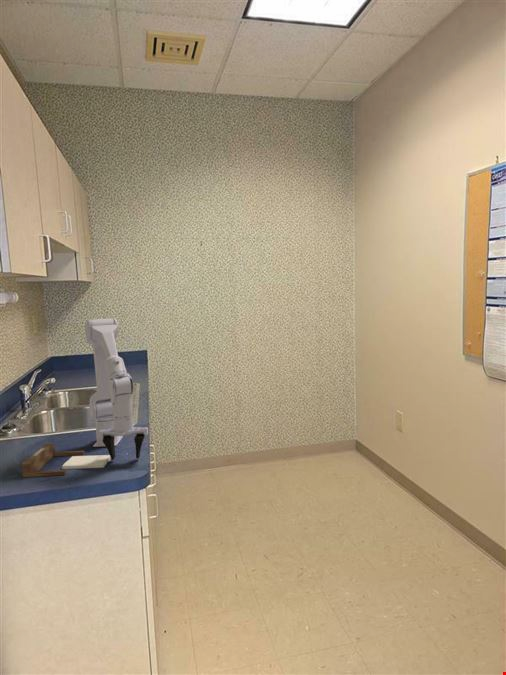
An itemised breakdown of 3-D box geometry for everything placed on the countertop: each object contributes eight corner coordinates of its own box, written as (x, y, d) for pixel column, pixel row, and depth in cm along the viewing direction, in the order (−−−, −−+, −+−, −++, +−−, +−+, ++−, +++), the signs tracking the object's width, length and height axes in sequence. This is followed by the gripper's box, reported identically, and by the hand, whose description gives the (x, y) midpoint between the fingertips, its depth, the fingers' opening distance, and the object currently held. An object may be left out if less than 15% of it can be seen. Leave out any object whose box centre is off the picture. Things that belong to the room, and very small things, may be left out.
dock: (47, 455, 143) (46, 442, 142) (84, 453, 143) (83, 440, 143) (22, 477, 125) (21, 462, 125) (64, 474, 126) (63, 460, 126)
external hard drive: (73, 460, 139) (112, 458, 139) (62, 471, 130) (103, 469, 131) (72, 455, 138) (111, 454, 139) (61, 465, 130) (103, 463, 130)
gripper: (95, 420, 130) (98, 464, 131) (144, 417, 130) (146, 461, 132) (101, 413, 137) (104, 455, 138) (148, 411, 137) (150, 453, 139)
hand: (125, 458), depth 135 cm, fingers open, 7 cm apart
